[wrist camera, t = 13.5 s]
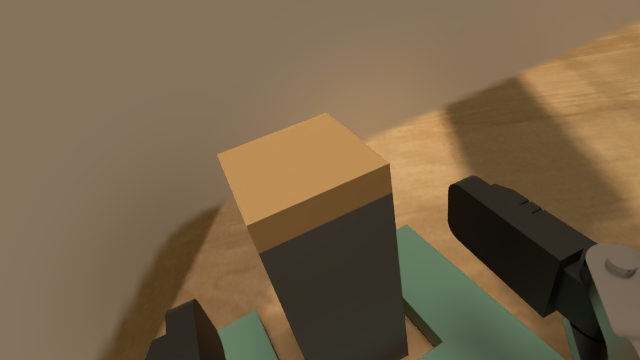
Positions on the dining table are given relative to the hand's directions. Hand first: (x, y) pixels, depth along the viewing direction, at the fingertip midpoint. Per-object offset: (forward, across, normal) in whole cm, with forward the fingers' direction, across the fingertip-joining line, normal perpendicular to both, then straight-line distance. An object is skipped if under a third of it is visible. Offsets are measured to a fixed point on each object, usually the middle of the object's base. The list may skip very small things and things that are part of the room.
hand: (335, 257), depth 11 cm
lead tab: (+2, 0, +8) cm, 8 cm away
